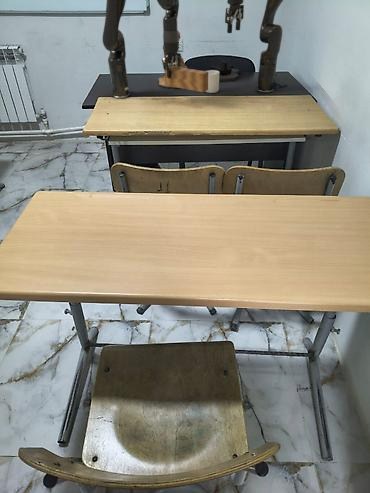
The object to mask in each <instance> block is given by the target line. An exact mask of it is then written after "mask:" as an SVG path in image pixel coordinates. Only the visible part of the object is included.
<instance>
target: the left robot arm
mask: <svg viewBox="0 0 370 493" xmlns="http://www.w3.org/2000/svg"><path fill="white" fill-rule="evenodd" d="M126 2H127V0H106V6H105V7H106V8H105V18H104V19H105V20H104V25H103V32H102V37H101V38H102V40H101V41H102V45H103V47H104V49H105V50H107V51H109V55H108V58H107V64H108V70H109V75H110V83H111V89H112V97H113V98H114V99H125V98H128V97H130V90H129V89H130V88H129V82H128V81H129V79H128V74H127V66H126V65H127V64H126V57H127V56H126V55H127V50H126V41H125V37H124V33H123V32H122V31H121V30H120V29H119V27H120V22H121V18H122V15H123V12H124V10H125V7H126ZM156 2H157V4H158V5H159V7H161V9H162V10H164V11H165V14H164V16H163V18H162V29H163V30H162V39H163V40H162V42H163V43H162V44H163V45H164V50H163V52H164V51H165V52H166V55H165V58H164V57H162V58H161V62H162V63H161V64H162V68H163V70H164V71H165V70H166V71H167V78H169V79H170V78H171V66H172V65H173V66H175V67H178V66H180V59H181V56H182V54H181V52H179V46H180V44H179V45H178V31H179V30H178V16H179V10H180V0H156ZM168 63H170V64H168ZM168 66H169V67H168Z"/></svg>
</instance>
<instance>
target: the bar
mask: <svg viewBox="0 0 370 493" xmlns="http://www.w3.org/2000/svg"><path fill="white" fill-rule="evenodd" d="M168 67H169V66H168ZM207 71H208V70H200V69H193V68H188V67H187V68H181V67H175V66H171V78H170V79H169V78H167V71H166V70H164V77H165V85H167V86H172V87H171V88H175V87H176V88H178V89H183V90H188V91H194V92H199V93H206V92H205V91H207V90H208V72H207Z"/></svg>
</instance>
